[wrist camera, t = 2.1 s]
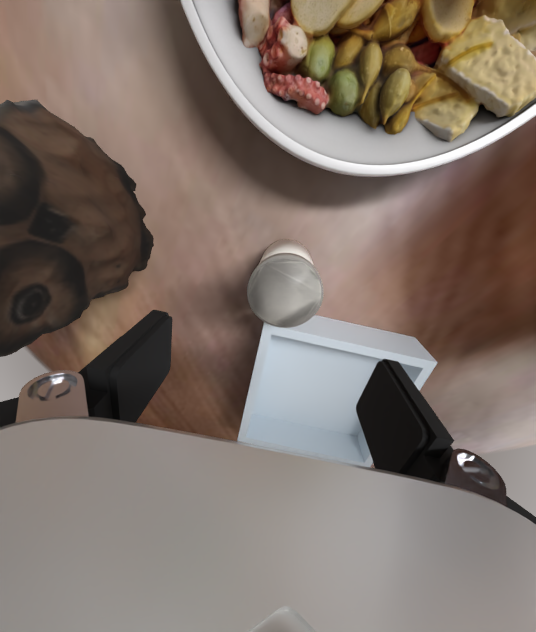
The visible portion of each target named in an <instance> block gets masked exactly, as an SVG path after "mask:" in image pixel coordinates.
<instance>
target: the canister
mask: <svg viewBox="0 0 536 632" xmlns="http://www.w3.org/2000/svg"><path fill="white" fill-rule="evenodd" d="M247 297H248V302H249V305H250V307H251V309H252V310H253V312H254V313H255V314H256V316H257V317H258V318H260V319H261V320H262V321H263V322H265V323H267V324H269V325H272V326H275V327H280V328H291V327H296V326H299V325H301V324H303V323H305V322H307V321H308V320H310V319H311V318H312V317H313V316H314V315H315V314H316V312H317V311H318V309H319V308H320V306H321V303H322V300H323V284H322V281H321V278H320V276H319V273H318V271H317V270H316V268H315V267H314V265H313V262H312V259H311V256H310V254H309V252H308V250H307V249H306V248H305V247H304V246H303V245H302V244H301V243H299V242H297V241H294V240H290V239H284V240H279V241H276V242H274V243H273V244H271V245H270V246H269V247H268V248H267V249H266V251H265V252H264V254H263V256H262V258H261V261H260V263H259V264H258V265H257V267H256V268H255V270H254V271H253V273H252V275H251V277H250V280H249V282H248V287H247Z"/></svg>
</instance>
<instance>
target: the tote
mask: <svg viewBox="0 0 536 632" xmlns="http://www.w3.org/2000/svg"><path fill="white" fill-rule="evenodd" d="M383 359H389V360H394V361H398V362H399V363H400V364H401V366H402V367H403V369H404V370H405V371H406V373H407V374H408V376H409V377H410V379H411V380H412V381H413V383H414V384H415V386H416V387H417V389H418V390H419V391H420V389H421V388H422V386H423V384H424V383H425V381H426V380H427V378H428V377H429V375H430V374H431V372H432V371H433V369H434V367H435V366H436V364H437V363H438V362H437V361H436V360H435V359H434V358H433V357H432V356H431V355H430V354H429V352H428V351H427V350H426V349H425V348H424V347H423V346H422V345H421V344H420V342H419V341H418V340H417V339H416V338H415V337H411V336H407V335H402V334H398V333H393V332H389V331H384V330H380V329H376V328H371V327H367V326H362V325H358V324H353V323H349V322H344V321H340V320H335V319H331V318H327V317H322V316H318V315H314V316H313V317H312V318H311V319H310V320H308V321H307V322H305V323H303V324H301V325H299V326H296V327H291V328H280V327H275V326H272V325H269V324H267V323H265V322H264V324H263V328H262V333H261V337H260V342H259V346H258V350H257V355H256V359H255V364H254V368H253V372H252V377H251V381H250V386H249V390H248V394H247V399H246V403H245V408H244V412H243V417H242V421H241V426H240V431H239V435H238V440H237V441H240V442H245V443H249V444H254V445H259V446H264V447H269V448H274V449H279V450H284V451H290V452H295V453H300V454H305V455H310V456H315V457H320V458H325V459H330V460H335V461H340V462H345V463H350V464H355V465H360V466H365V467H371V465H372V464H373V460H372V457H371V454H370V451H369V448H368V445H367V442H366V439H365V436H364V433H363V430H362V427H361V424H360V421H359V418H358V416H357V413H356V405H357V402H358V400H359V398H360V396H361V394H362V392H363V390H364V388H365V386H366V384H367V382H368V380H369V378H370V376H371V375H372V373H373V371H374V369H375V367H376V365H377V363H378V362H379V361H382V360H383Z"/></svg>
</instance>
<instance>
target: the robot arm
mask: <svg viewBox="0 0 536 632" xmlns="http://www.w3.org/2000/svg"><path fill="white" fill-rule="evenodd" d="M171 338H172V317H170V316H169V315H168V313H167V312H162V311H157V310H153V311H151V312H150V313H149V314H148V315H147V316H145V317H144V318H143V319H142V320H141V321H140V322H138V323H137V324H136V325H135V326H134V327H132V328H131V329H130V330H129V331H128V332H127V333H125V334H124V335H123V336H121V337H120V338H119V339H117V340H116V341H115V342H114V343H113V344H112V345H110V346H109V347H108V348H107V349H106V350H104V351H103V352H102V353H101V354H100V355H98V356H97V357H96V358H95V359H94V360H93V361H91V362H90V363H89V364H88V365H87V366H85V367H84V368H83V369H82V370H81V371H79V372H74V371H69V370H60V371H53V372H49V373H46V374H43V375H40V376H38V377H36V378H34V379H33V380H31V381H29V382H28V383H27V384H26V385H25V386H24V387H23V388H22V389H21V392H20V394H19V397H18V398H14V399H10V400H7V401H3V402H0V632H536V517H535V516H533V515H532V514H531V513H529V512H528V511H527V510H525V509H524V508H522V507H521V506H520V505H518V504H517V503H516V502H514V501H513V500H511V499H510V498H509V497H507V496H506V487H505V483H504V481H503V480H502V478H501V476H500V475H499V474H498V473H497V471H496V470H495V469H494V468H493V467H492V466H491V465H490V464H488V462H486V461H485V460H483V459H482V458H481V457H479V456H478V455H476V454H474V453H472V452H470V451H467V450H465V449H456V450H453V449H452V447H451V446H450V445H451V444H452V443H453V441H454V440H453V438H452V437H451V435H450V434H449V433H448V431H447V430H446V428H445V427H444V426H443V424H442V423H441V421H440V420H439V418H438V417H437V416H436V414H435V413H434V411H433V410H432V408H431V407H430V406H429V404H428V403H427V401H426V400H425V399H424V397H423V396H422V394H421V393H420V391H419V390H418V389H417V387H416V386H415V384H414V383H413V381H412V380H411V379H410V377H409V376H408V374H407V373H406V371H405V370H404V369H403V367H402V366H401V364H400V363H399V362H398V361H394V360H389V359H383V360H382V361H379V362H378V363H377V365H376V367H375V369H374V371H373V373H372V375H371V376H370V378H369V380H368V382H367V384H366V386H365V388H364V390H363V392H362V394H361V396H360V398H359V400H358V402H357V405H356V413H357V416H358V418H359V421H360V424H361V427H362V430H363V433H364V436H365V439H366V442H367V445H368V448H369V451H370V454H371V457H372V460H373V463H374V466H375V468H370V467H365V466H360V465H355V464H350V463H345V462H340V461H335V460H330V459H325V458H320V457H315V456H310V455H305V454H300V453H295V452H290V451H284V450H279V449H274V448H269V447H264V446H259V445H254V444H248V443H243V442H238V441H233V440H227V439H222V438H217V437H212V436H206V435H201V434H196V433H190V432H185V431H180V430H174V429H169V428H163V427H158V426H152V425H146V424H140V423H135V422H136V421H137V419H138V418H139V416H140V415H141V413H142V412H143V410H144V409H145V407H146V406H147V404H148V403H149V401H150V400H151V398H152V397H153V395H154V394H155V392H156V391H157V389H158V388H159V386H160V385H161V383H162V382H163V380H164V379H165V377H166V376H167V374H168V372H169V370H170V364H171Z"/></svg>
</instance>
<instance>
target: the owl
mask: <svg viewBox="0 0 536 632" xmlns="http://www.w3.org/2000/svg"><path fill="white" fill-rule="evenodd" d="M135 188H136V183H135V182H134V181H133V180H132V179H131V178H130V177H129V176H128V175H127V173H126V171H125V170H124V168H123V167H122V166H121V165H120V164H118V163H117V162H115V161H113V160H112V159H111V158H109V157H108V156H107V154H105V153H104V152H103V151H102V149H101V148H100V147H99V146H98V145H97V144H96V142H95V141H94V139H92V138H90V137H85V136H84V135H83V134H81V133H80V132H79V131H78V130H77V129H76V128H75V127H73V126H72V125H70V124H68V123H67V122H65V121H64V120H62V119H60V118H59V117H57V116H55V115H54V114H52V113H50V112H49V111H48V110H47V109H46V108H44V107H43V106H42V105H41V104H40V103H39V102H38V101H37V100H30V101H20V102H15V103H13V102H11V101H9V100H6V101H5V102H4V103H2V104H0V357H1V356H7V355H9V354H12V353H14V352H16V351H18V350H19V349H21V348H22V347H24V346H26V345H29V344H31V343H32V342H33V341H35V340H36V339H37V338H38V337H40V336H41V335H42V334H46V333H51V332H53V331H55V330H58V329H60V328H62V327H65V326H67V325H69V324H70V323H72V322H73V321H74V320H76V319H78V318H80V316H81V314H82V312H83V311H84V310H85V309H87V308H88V306H89V304H90V301H91V300H92V299H95V298H100V297H103V296H105V295H106V294H110V293H114V292H118V291H121V290H123V289H125V288H126V287H127V286H128V278H129V276H130V274H131V272H132V271H141V270H144V269H145V268H146V267H147V262H148V260H149V258H150V254H151V250H152V247H153V246H154V245H153V236H152V234H151V233H150V231H149V230H148V229H147V228H146V226H145V224H144V223H143V220H142V219H143V218H144V216H145V215H146V213H145V211H144V209H143V208H142V207H141V206H140V204H139V203H138V201H137V198H136V195H135V194H134V192H133V191H135Z"/></svg>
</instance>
